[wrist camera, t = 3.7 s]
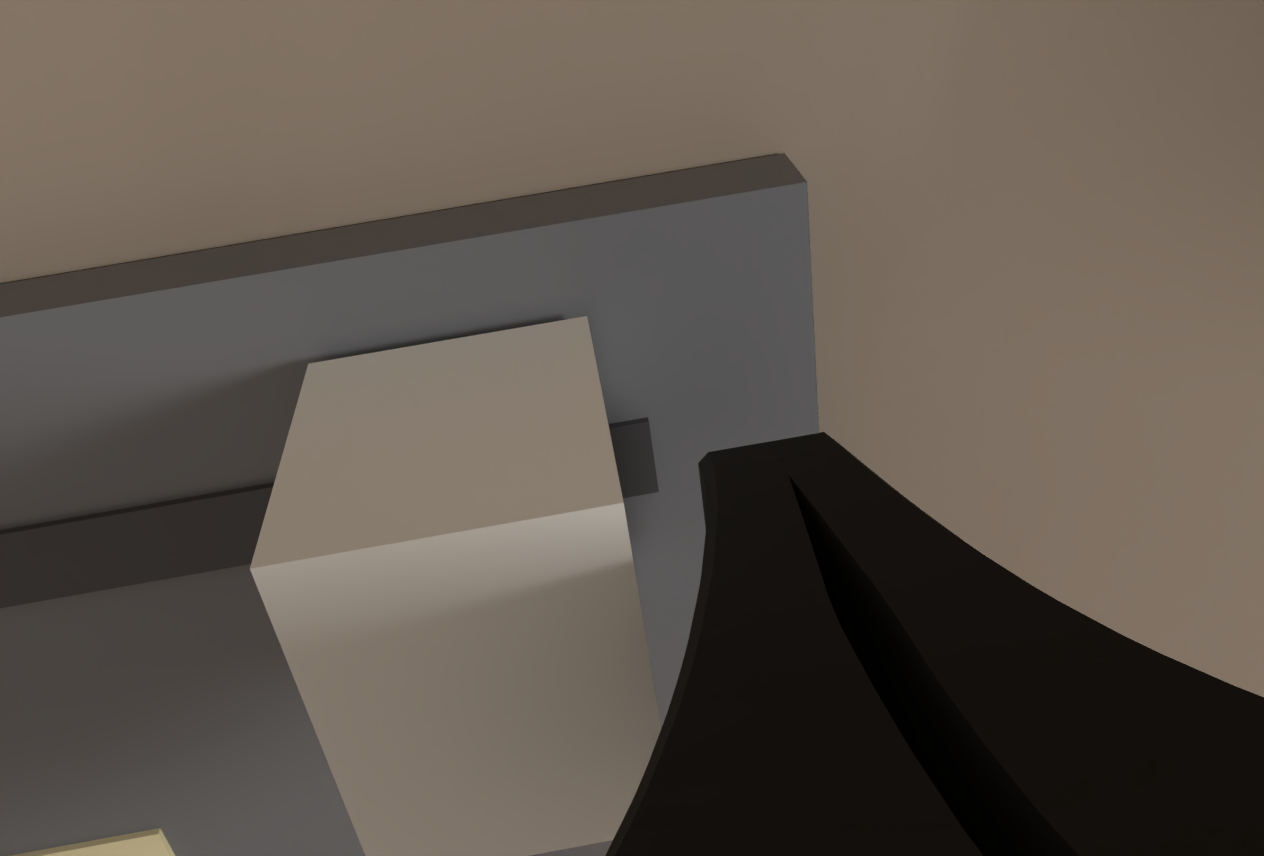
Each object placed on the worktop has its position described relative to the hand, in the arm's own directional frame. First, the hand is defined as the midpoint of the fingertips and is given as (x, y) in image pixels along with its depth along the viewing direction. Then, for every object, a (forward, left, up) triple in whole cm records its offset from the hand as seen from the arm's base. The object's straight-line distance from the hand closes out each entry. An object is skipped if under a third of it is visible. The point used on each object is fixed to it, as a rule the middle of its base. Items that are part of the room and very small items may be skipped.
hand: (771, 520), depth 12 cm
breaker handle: (+3, 0, -2) cm, 3 cm away
